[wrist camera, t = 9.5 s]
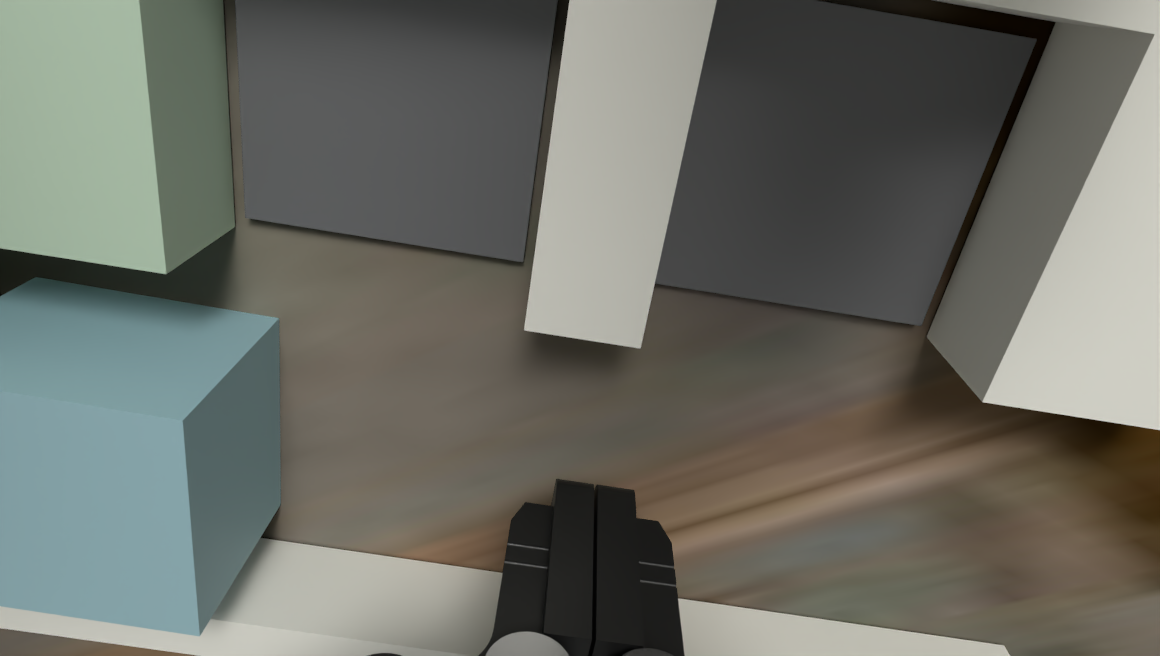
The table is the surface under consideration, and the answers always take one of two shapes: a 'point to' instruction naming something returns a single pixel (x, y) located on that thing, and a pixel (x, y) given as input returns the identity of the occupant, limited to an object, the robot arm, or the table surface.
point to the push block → (132, 453)
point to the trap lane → (614, 210)
